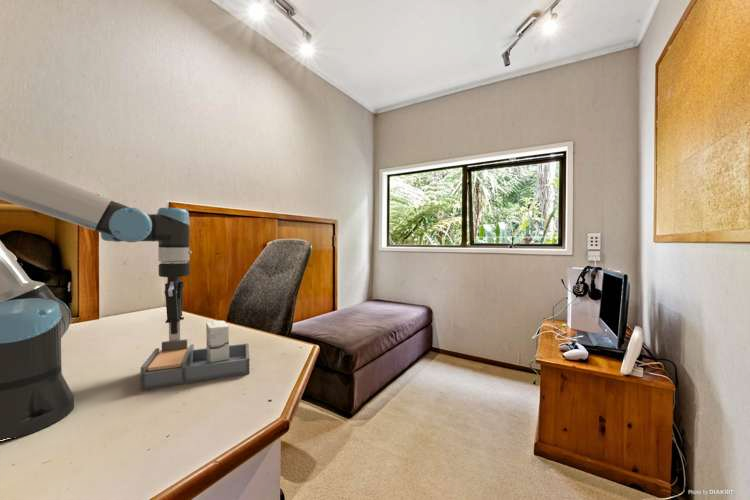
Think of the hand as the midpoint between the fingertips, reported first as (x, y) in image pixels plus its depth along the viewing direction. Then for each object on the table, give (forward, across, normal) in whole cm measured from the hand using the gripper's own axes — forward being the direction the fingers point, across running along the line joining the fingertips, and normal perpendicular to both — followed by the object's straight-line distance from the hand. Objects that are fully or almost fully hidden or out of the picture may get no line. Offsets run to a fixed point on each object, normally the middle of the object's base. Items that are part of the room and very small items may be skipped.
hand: (175, 343), depth 88 cm
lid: (+2, -7, 0) cm, 7 cm away
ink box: (+5, -8, -11) cm, 15 cm away
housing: (+6, -8, -8) cm, 12 cm away
